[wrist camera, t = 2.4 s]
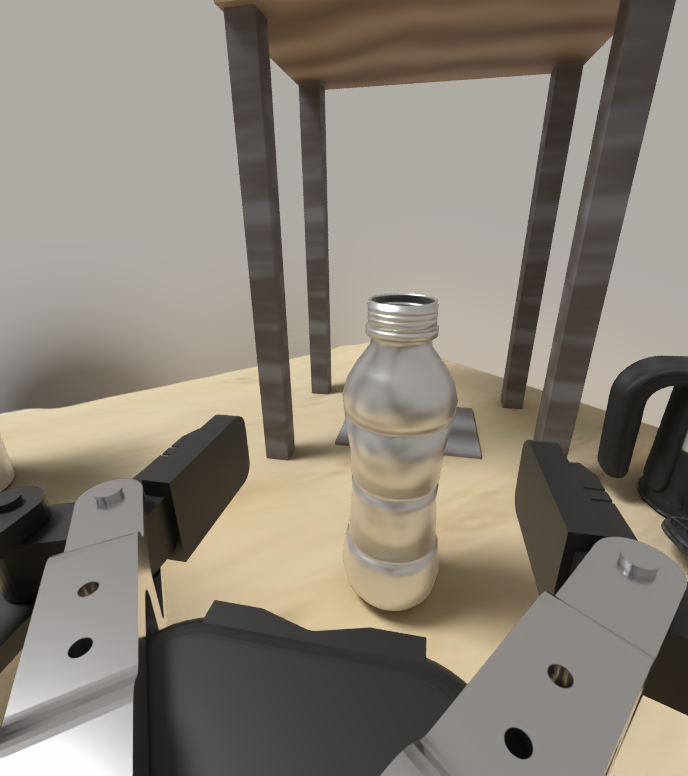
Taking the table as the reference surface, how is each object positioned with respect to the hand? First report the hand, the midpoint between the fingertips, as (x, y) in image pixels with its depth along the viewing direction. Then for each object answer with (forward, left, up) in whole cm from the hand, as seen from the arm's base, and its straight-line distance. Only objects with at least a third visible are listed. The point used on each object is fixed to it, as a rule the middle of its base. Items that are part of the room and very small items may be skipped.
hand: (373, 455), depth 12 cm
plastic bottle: (-4, +11, -18) cm, 21 cm away
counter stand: (-12, +33, -18) cm, 39 cm away
